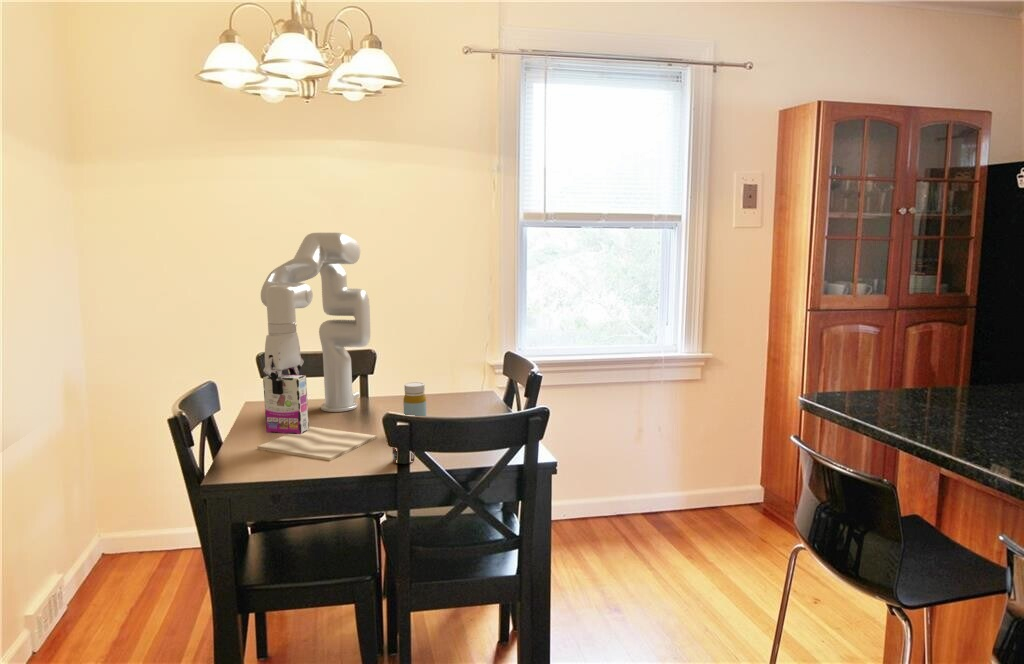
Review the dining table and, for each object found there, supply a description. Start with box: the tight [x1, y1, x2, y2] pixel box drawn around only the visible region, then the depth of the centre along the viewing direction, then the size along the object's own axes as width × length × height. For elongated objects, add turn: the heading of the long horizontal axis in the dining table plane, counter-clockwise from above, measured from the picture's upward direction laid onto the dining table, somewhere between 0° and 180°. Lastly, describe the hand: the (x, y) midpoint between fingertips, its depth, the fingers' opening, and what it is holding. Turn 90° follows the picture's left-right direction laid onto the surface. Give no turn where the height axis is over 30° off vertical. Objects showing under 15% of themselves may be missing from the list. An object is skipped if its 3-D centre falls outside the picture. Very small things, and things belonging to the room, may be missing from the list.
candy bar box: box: [262, 374, 310, 435], centre depth 193 cm, size 11×5×16 cm, turn 78°
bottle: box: [403, 381, 427, 416], centre depth 211 cm, size 7×7×15 cm
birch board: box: [256, 426, 378, 461], centre depth 200 cm, size 22×26×1 cm
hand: (285, 391), depth 193 cm, fingers closed on candy bar box, 5 cm apart
